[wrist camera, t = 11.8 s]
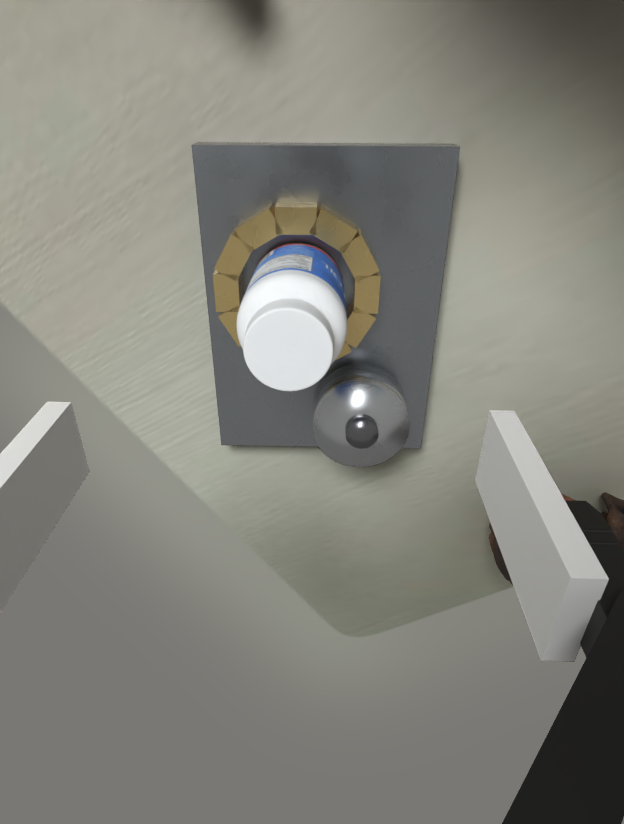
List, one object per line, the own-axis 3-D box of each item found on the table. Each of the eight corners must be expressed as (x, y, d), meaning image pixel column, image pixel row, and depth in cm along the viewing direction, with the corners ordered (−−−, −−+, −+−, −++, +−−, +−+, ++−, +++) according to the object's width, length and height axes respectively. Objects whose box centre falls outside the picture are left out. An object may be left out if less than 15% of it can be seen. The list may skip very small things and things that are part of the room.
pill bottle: (349, 321, 33) (357, 399, 25) (264, 335, 34) (243, 416, 25) (335, 231, 30) (339, 283, 22) (243, 247, 31) (212, 305, 22)
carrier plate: (197, 142, 29) (173, 151, 25) (453, 144, 29) (477, 153, 25) (225, 432, 39) (211, 478, 35) (417, 435, 39) (429, 482, 34)
